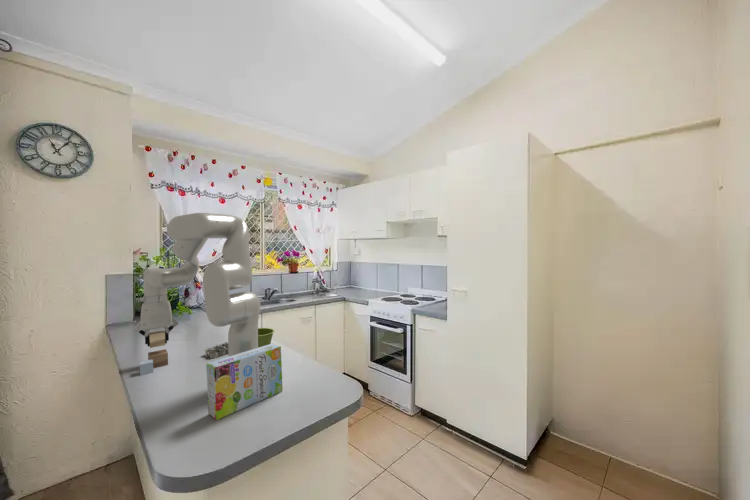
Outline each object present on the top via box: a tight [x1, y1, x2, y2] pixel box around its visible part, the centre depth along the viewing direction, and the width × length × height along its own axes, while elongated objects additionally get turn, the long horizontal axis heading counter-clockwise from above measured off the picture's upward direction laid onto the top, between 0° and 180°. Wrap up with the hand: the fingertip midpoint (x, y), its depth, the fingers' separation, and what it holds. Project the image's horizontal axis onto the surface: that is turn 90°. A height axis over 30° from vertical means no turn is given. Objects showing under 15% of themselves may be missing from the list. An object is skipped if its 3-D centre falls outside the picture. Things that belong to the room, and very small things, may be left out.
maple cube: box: [149, 329, 166, 349], centre depth 125 cm, size 5×5×5 cm
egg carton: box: [203, 341, 228, 360], centre depth 136 cm, size 11×8×4 cm
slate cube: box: [139, 359, 154, 376], centre depth 118 cm, size 4×4×4 cm
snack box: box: [205, 343, 283, 421], centre depth 94 cm, size 21×6×15 cm, turn 141°
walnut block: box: [147, 348, 169, 369], centre depth 125 cm, size 6×6×5 cm
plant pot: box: [258, 327, 275, 348], centre depth 130 cm, size 12×12×11 cm
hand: (157, 343), depth 125 cm, fingers closed on maple cube, 5 cm apart
